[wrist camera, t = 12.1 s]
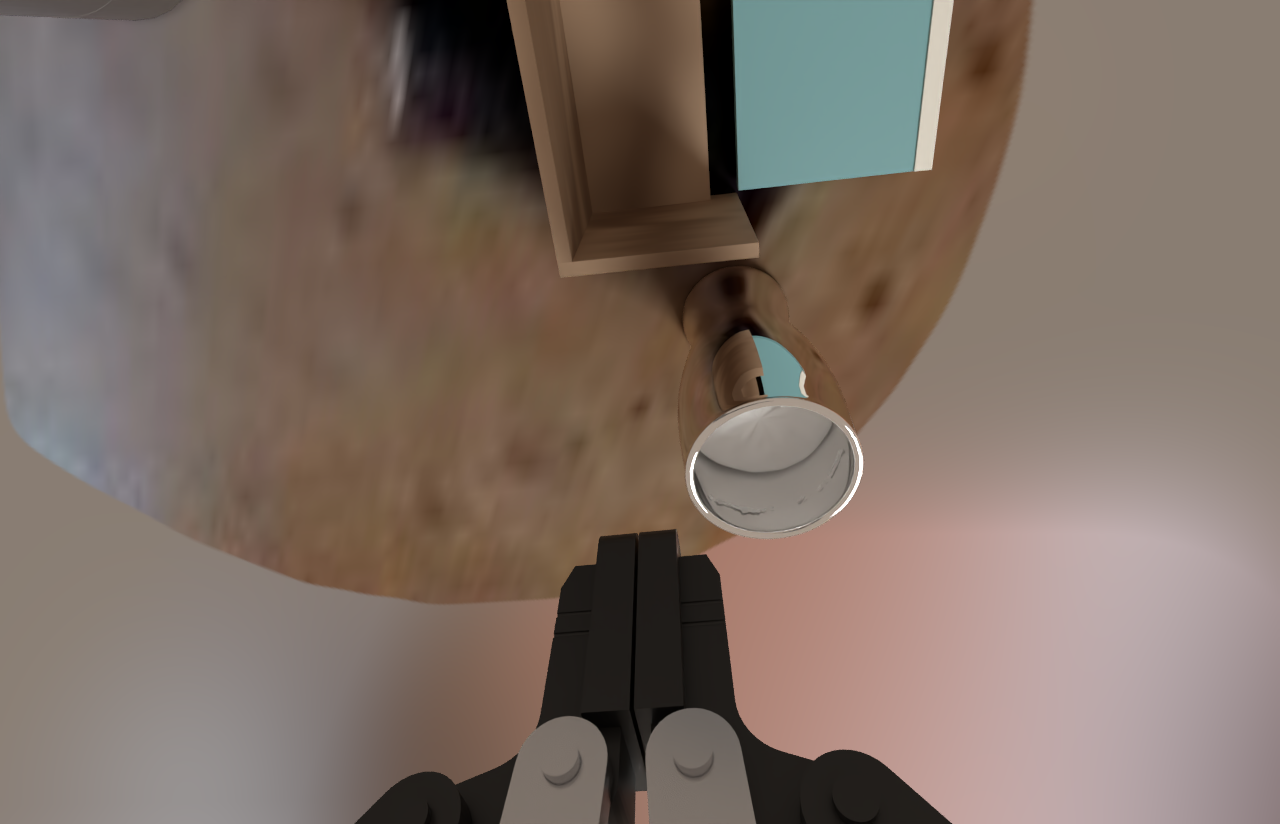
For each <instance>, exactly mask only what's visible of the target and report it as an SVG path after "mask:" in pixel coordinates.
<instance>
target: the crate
mask: <svg viewBox="0 0 1280 824" xmlns="http://www.w3.org/2000/svg"><path fill="white" fill-rule="evenodd" d="M507 5H508V10H509V15H510V20H511V25H512V31H513V36H514V41H515V46H516V51H517V56H518V62H519V67H520V72H521V77H522V82H523V88H524V93H525V98H526V103H527V108H528V113H529V119H530V124H531V129H532V134H533V139H534V144H535V150H536V155H537V160H538V165H539V170H540V175H541V181H542V186H543V191H544V196H545V201H546V206H547V212H548V217H549V222H550V227H551V232H552V237H553V243H554V248H555V253H556V258H557V263H558V269H559V274H560V278H563V277H573V276H582V275H592V274H602V273H612V272H621V271H631V270H641V269H651V268H660V267H670V266H680V265H690V264H699V263H709V262H719V261H728V260H738V259H748V258H758V257H759V242H758V239H757V237H756V235H755V233H754V231H753V228H752V226H751V224H750V222H749V220H748V217H747V215H746V213H745V211H744V209H743V206H742V204H741V202H740V200H739V198H738V195H737V193H729V194H720V195H711V196H710V180H709V162H708V143H707V125H706V106H705V88H704V69H703V51H702V32H701V14H700V0H507Z"/></svg>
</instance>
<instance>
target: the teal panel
mask: <svg viewBox="0 0 1280 824" xmlns="http://www.w3.org/2000/svg"><path fill="white" fill-rule="evenodd" d="M953 1H954V0H731V18H732V49H733V81H734V113H735V144H736V176H737V188H738V190H748V189H757V188H766V187H775V186H784V185H793V184H802V183H811V182H820V181H829V180H838V179H847V178H856V177H865V176H874V175H883V174H892V173H901V172H910V171H923V170H932V164H933V156H934V148H935V140H936V133H937V125H938V117H939V109H940V102H941V94H942V86H943V78H944V70H945V63H946V55H947V47H948V39H949V32H950V24H951V16H952V8H953Z"/></svg>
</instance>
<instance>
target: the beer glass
mask: <svg viewBox="0 0 1280 824" xmlns="http://www.w3.org/2000/svg"><path fill="white" fill-rule="evenodd" d="M682 322H683V329H684V333H685V335H686V338H687V340H688V342H689V344H690V345H691V348H690V351H689V354H688V357H687V360H686V363H685V366H684V370H683V373H682V378H681V383H680V388H679V394H678V430H679V440H680V446H681V453H682V459H683V464H684V469H685V482H686V487H687V491H688V493H689V496H690V498H691V500H692V502H693V504H694V505H695V507H696V508H697V509H698V511H699V512H700V513H701V514H702V515H703V516H704V517H705V518H706V519H708V520H709V521H710V522H711V523H713V524H714V525H716V526H718V527H719V528H721V529H723V530H725V531H728V532H730V533H733V534H736V535H740V536H744V537H749V538H756V539H777V538H785V537H791V536H795V535H799V534H802V533H805V532H808V531H810V530H813V529H815V528H817V527H819V526H821V525H822V524H824V523H826V522H827V521H829V520H830V519H832V518H833V517H834V516H836V515H837V514H838V513H839V512H840V511H841V510H842V509H843V508H844V507H845V506H846V505H847V504H848V503H849V502H850V500H851V499H852V497H853V496H854V494H855V493H856V491H857V489H858V487H859V484H860V482H861V479H862V474H863V469H864V456H863V450H862V446H861V443H860V441H859V438H858V436H857V434H856V432H855V429H854V425H853V422H852V419H851V416H850V413H849V410H848V407H847V404H846V401H845V398H844V396H843V394H842V391H841V389H840V387H839V384H838V382H837V380H836V378H835V376H834V374H833V373H832V371H831V369H830V367H829V366H828V364H827V362H826V361H825V359H824V358H823V356H822V355H821V354H820V352H819V351H818V350H817V349H816V348H815V347H814V345H813V344H812V343H811V342H810V341H809V340H808V339H807V338H806V337H805V336H804V335H803V334H802V333H801V332H800V331H799V330H798V329H797V328H796V327H795V326H794V325H792V324H791V323H790V322H789V308H788V303H787V300H786V297H785V294H784V292H783V290H782V289H781V287H780V286H779V284H778V283H777V282H776V281H775V280H774V279H773V278H772V277H771V276H769V275H768V274H766V273H764V272H763V271H760V270H758V269H755V268H752V267H747V266H730V267H725V268H722V269H719V270H716V271H714V272H712V273H710V274H708V275H707V276H705V277H704V278H703V279H701V280H700V281H699V282H698V283H697V284H696V285H695V286H694V288H693V289H692V290H691V292H690V294H689V295H688V297H687V299H686V302H685V305H684V309H683V315H682Z"/></svg>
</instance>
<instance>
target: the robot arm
mask: <svg viewBox="0 0 1280 824" xmlns="http://www.w3.org/2000/svg"><path fill="white" fill-rule="evenodd" d="M180 1H181V0H0V15H4V16H32V17H54V18H74V19H104V20H133V21H136V20H143V19H150V18H155V17H158V16H160V15H162V14H164V13H166V12H168V11H170V10H172V9H173V8H174V7H175V6H176V5H177V4H178V3H179V2H180ZM557 614H558V617H557V618H556V624H555V630H554V638H553V642H552V648H551V654H550V660H549V666H548V672H547V679H546V684H545V690H544V697H543V703H542V709H541V715H540V719H539V722H538V725H537V727H536V730H535V731H534V732H532V734H531V735H530V736H529V737H528V738H527V739H526V741H525V742H524V744H523V745H522V747H521V749H520V751H519V753H518V754H517V755H515V756H514V757H513V758H512V759H511V760H509V761H507V762H506V763H504V764H503V765H501V766H499V767H497V768H495V769H492V770H490V771H488V772H485V773H483V774H480V775H478V776H476V777H473V778H471V779H468V780H466V781H464V782H462V783H459V784H456V785H455V784H454V783H453V782H452V780H451V779H449V778H448V777H447V776H445V775H443V774H441V773H437V772H422V773H417V774H414V775H411V776H409V777H407V778H405V779H403V780H401V781H400V782H398V783H397V784H395V785H394V786H393V787H391V788H390V789H389V790H388V791H387V792H386V793H385V794H384V795H383V796H382V797H381V798H380V799H379V800H378V801H377V802H376V803H375V804H374V805H373V806H372V807H371V808H370V809H369V810H368V811H367V812H366V813H365V814H364V815H363V816H362V817H361V818H360V819H359V820H358V821H357V822H356V823H355V824H635V791H647V793H648V810H649V824H952V823H950V822H949V821H948V820H947V819H946V818H945V817H944V816H943V815H941V814H940V813H939V812H938V811H937V810H936V809H935V808H934V807H932V806H931V805H930V804H929V803H928V802H927V801H925V800H924V799H923V798H922V797H921V796H920V795H919V794H918V793H916V792H915V791H914V790H913V789H912V788H911V787H910V786H908V785H907V784H906V783H905V782H904V781H903V780H902V779H900V778H899V777H898V776H897V775H896V774H895V773H894V772H892V771H891V770H890V769H889V768H888V767H886V766H885V765H884V764H883V763H881V762H880V761H878V760H877V759H875V758H873V757H871V756H869V755H867V754H864V753H862V752H858V751H853V750H836V751H831V752H828V753H825V754H823V755H821V756H820V757H818V758H817V759H816V760H814V761H813V760H810V759H806V758H803V757H799V756H796V755H792V754H788V753H785V752H782V751H779V750H776V749H774V748H772V747H769V746H768V745H766V744H764V743H763V742H761V741H760V740H759V739H757V738H756V737H755V736H754V735H753V734H752V733H751V732H750V731H749V730H748V729H747V727H746V726H745V725H744V723H743V721H742V720H741V718H740V716H739V713H738V710H737V708H736V703H735V696H734V688H733V680H732V672H731V664H730V655H729V648H728V639H727V631H726V623H725V615H724V606H723V598H722V590H721V582H720V574H719V573H718V571H717V570H716V568H715V567H714V565H713V564H712V562H711V561H710V560H709V558H708V557H707V555H706V554H704V555H693V556H682V557H681V553H680V546H679V540H678V534H677V529H673V530H662V531H652V532H641V533H639V536H638V534H637V533H632V534H622V535H611V536H601V537H600V539H599V543H598V552H597V562H596V564H595V565H584V566H575V568H574V569H573V571H572V572H571V574H570V575H569V577H568V579H567V580H566V582H565V583H564V585H563V586H562V588H561V593H560V599H559V605H558V612H557Z"/></svg>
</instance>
